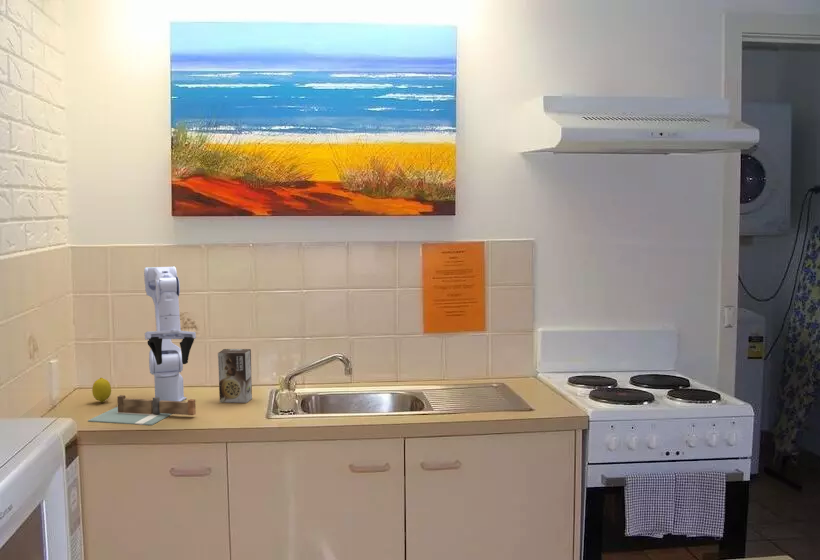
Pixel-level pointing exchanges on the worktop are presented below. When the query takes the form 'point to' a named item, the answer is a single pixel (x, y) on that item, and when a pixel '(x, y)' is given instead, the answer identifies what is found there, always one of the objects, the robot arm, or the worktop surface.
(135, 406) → the fixed fence section
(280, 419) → the worktop surface
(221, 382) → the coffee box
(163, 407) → the hinged fence panel
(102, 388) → the lemon
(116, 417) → the card
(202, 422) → the worktop surface
